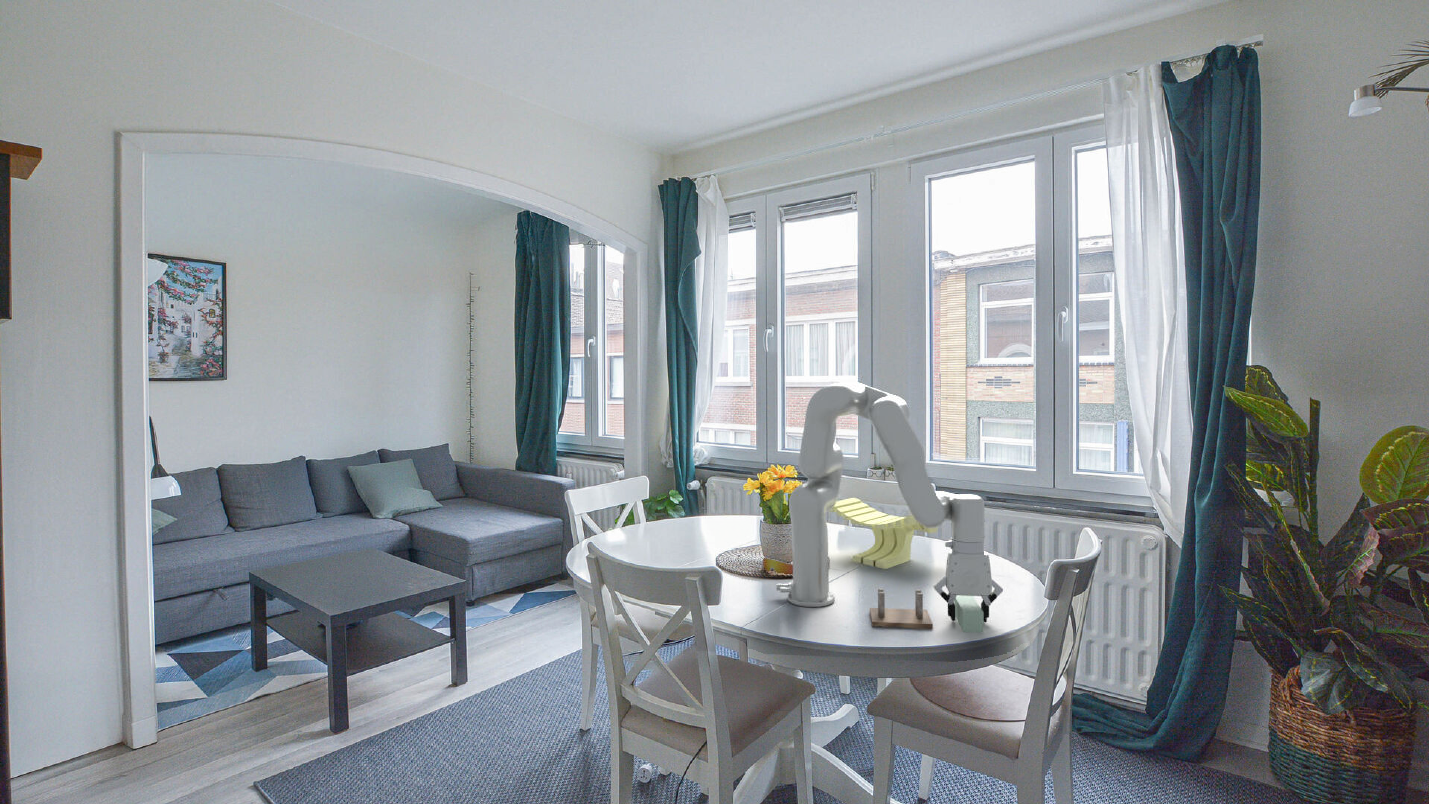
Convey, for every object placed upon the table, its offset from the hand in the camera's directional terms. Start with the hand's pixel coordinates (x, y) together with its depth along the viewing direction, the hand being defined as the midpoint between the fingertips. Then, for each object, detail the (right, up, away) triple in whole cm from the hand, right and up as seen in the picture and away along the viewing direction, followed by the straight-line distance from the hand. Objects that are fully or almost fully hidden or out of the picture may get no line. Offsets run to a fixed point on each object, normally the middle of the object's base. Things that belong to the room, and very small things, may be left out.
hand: (968, 619), depth 171 cm
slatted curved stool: (-7, +1, +57) cm, 58 cm away
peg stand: (-16, -1, +3) cm, 16 cm away
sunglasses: (-39, 0, +48) cm, 62 cm away
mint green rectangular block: (0, -1, 0) cm, 1 cm away
